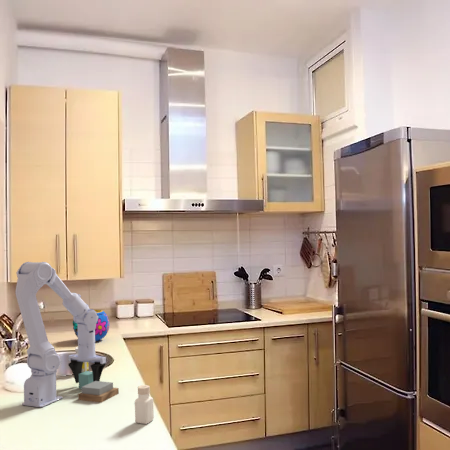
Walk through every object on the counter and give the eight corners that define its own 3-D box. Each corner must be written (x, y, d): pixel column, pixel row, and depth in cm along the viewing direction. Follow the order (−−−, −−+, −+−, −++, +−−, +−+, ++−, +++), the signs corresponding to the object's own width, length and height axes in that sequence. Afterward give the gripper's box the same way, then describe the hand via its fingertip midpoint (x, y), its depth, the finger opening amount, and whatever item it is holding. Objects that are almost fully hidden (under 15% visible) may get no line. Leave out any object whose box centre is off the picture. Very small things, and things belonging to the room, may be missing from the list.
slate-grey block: (99, 395, 152) (99, 388, 152) (81, 393, 155) (81, 386, 155) (113, 388, 158) (112, 382, 159) (95, 386, 161) (95, 380, 161)
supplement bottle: (83, 370, 189) (82, 345, 189) (91, 372, 186) (91, 347, 186) (71, 374, 185) (70, 348, 185) (79, 376, 181) (78, 349, 182)
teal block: (88, 389, 164) (88, 375, 164) (78, 388, 166) (78, 374, 166) (95, 386, 168) (95, 371, 168) (86, 385, 169) (86, 371, 170)
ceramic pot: (72, 339, 251) (72, 310, 251) (107, 336, 257) (107, 307, 257) (74, 346, 234) (73, 315, 235) (111, 342, 240) (111, 312, 241)
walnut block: (101, 404, 151) (101, 396, 151) (78, 401, 154) (78, 394, 154) (118, 395, 159) (118, 388, 159) (96, 393, 162) (95, 385, 162)
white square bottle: (134, 423, 132) (133, 388, 133) (142, 418, 136) (141, 384, 136) (147, 425, 131) (146, 389, 131) (154, 419, 135) (153, 385, 135)
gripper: (111, 342, 168) (112, 381, 168) (77, 339, 174) (78, 378, 173) (98, 346, 162) (99, 387, 161) (63, 344, 167) (64, 383, 167)
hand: (87, 383), depth 167 cm, fingers open, 7 cm apart
